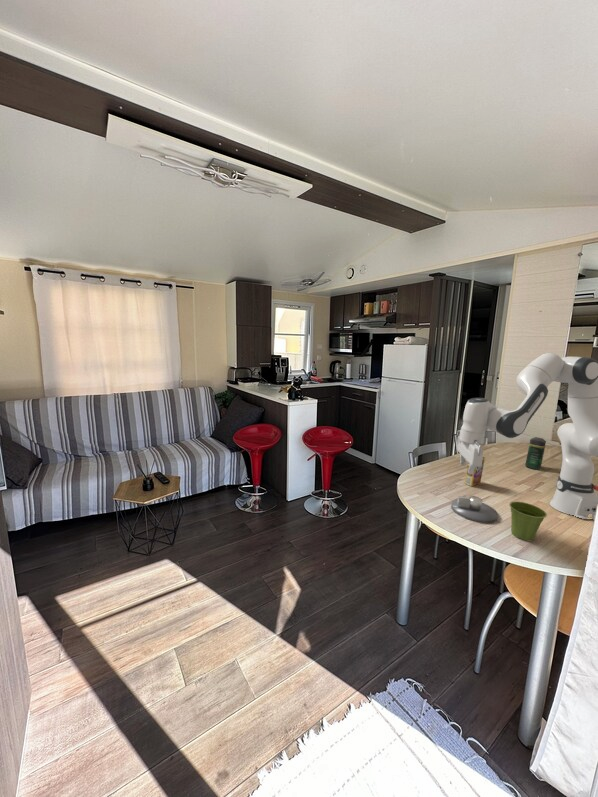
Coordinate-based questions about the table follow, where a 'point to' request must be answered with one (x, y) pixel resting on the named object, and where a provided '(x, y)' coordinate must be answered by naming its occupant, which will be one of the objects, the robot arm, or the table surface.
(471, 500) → the dial
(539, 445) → the coffee jar
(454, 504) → the dial plate
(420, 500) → the table surface
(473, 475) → the candy box
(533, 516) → the plant pot
